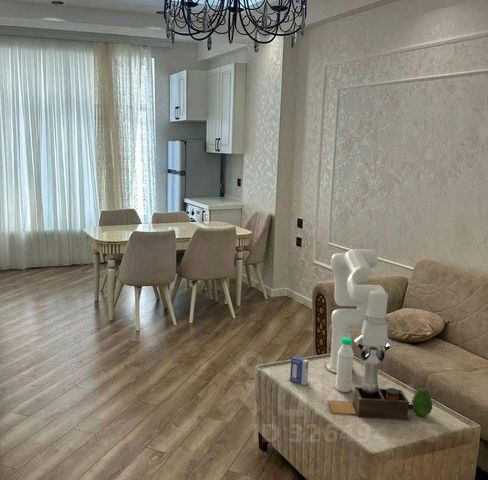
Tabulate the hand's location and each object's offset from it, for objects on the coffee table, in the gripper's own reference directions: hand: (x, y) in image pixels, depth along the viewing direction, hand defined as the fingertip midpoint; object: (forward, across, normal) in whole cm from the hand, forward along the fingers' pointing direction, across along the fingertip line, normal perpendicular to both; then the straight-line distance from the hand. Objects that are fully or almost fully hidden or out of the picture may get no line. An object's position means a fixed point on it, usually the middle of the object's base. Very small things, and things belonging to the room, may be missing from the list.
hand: (372, 359), depth 228 cm
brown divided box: (+24, -5, +1) cm, 24 cm away
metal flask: (+15, 0, 0) cm, 15 cm away
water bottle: (+24, +7, -18) cm, 31 cm away
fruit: (+24, -22, +2) cm, 32 cm away
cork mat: (+24, +11, 0) cm, 26 cm away
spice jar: (+24, -10, +1) cm, 26 cm away
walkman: (+24, +27, -23) cm, 43 cm away
